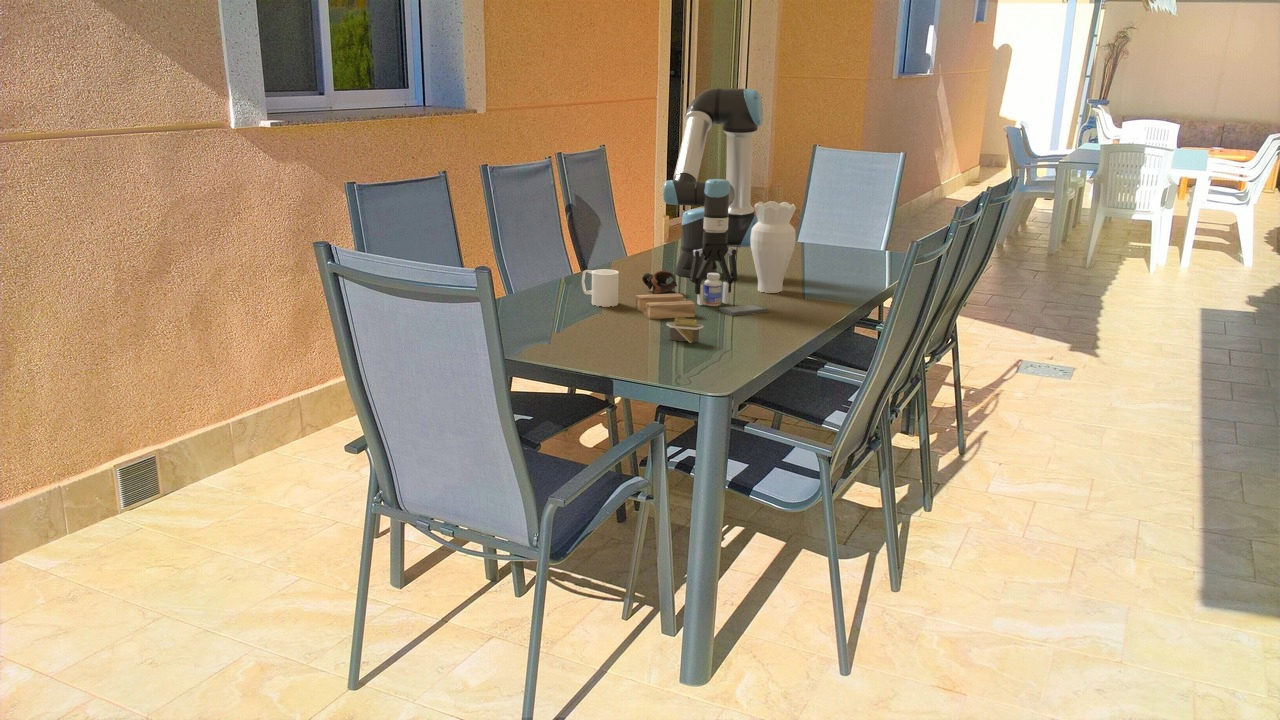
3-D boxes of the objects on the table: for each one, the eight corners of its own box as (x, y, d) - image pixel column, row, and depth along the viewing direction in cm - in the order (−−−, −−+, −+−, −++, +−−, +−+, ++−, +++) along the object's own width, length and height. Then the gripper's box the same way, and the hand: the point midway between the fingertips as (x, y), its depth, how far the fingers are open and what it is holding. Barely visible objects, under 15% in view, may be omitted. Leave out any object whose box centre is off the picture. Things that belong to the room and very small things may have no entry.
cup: (586, 298, 319) (587, 267, 316) (622, 302, 315) (622, 270, 312) (576, 303, 312) (576, 271, 309) (611, 308, 308) (612, 275, 305)
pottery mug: (678, 291, 334) (682, 273, 328) (668, 309, 328) (671, 290, 322) (645, 280, 336) (647, 261, 330) (634, 297, 330) (637, 278, 324)
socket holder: (635, 308, 308) (635, 295, 307) (678, 306, 312) (679, 293, 311) (649, 319, 295) (650, 305, 294) (694, 316, 299) (695, 303, 298)
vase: (742, 293, 331) (747, 204, 323) (753, 285, 345) (758, 199, 336) (786, 297, 327) (792, 207, 318) (796, 289, 340) (802, 202, 332)
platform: (712, 351, 264) (713, 327, 263) (645, 345, 268) (646, 321, 267) (720, 340, 276) (721, 317, 274) (656, 335, 280) (656, 311, 278)
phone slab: (719, 310, 307) (719, 307, 307) (755, 307, 313) (755, 303, 312) (731, 316, 301) (732, 312, 301) (768, 312, 307) (768, 308, 306)
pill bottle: (702, 302, 318) (703, 271, 315) (719, 302, 318) (720, 272, 315) (704, 306, 312) (705, 275, 310) (721, 306, 313) (723, 275, 310)
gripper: (688, 233, 302) (685, 307, 308) (751, 231, 308) (747, 304, 314) (679, 229, 309) (677, 302, 315) (741, 228, 315) (738, 299, 321)
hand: (712, 303), depth 315 cm, fingers open, 8 cm apart
